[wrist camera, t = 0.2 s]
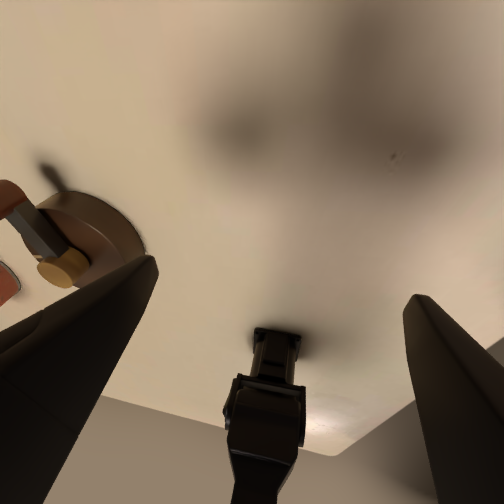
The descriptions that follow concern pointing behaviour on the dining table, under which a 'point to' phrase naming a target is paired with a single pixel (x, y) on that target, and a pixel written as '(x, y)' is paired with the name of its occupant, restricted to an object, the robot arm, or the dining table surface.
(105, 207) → the crank base
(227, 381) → the dining table surface
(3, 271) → the canned food
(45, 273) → the crank handle
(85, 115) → the dining table surface
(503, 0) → the dining table surface
